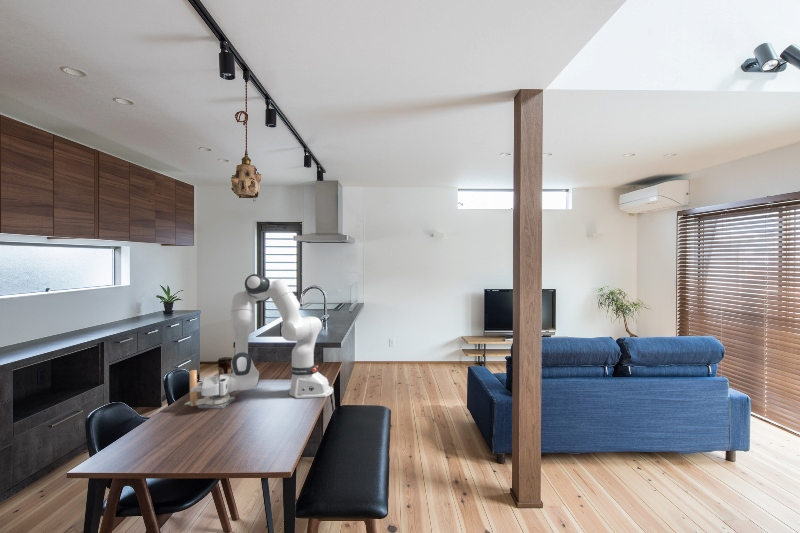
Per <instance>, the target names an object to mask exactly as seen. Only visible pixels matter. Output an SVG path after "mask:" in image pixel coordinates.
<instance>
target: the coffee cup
mask: <svg viewBox="0 0 800 533" xmlns="http://www.w3.org/2000/svg"><path fill="white" fill-rule="evenodd" d="M232 359H233V357H231V356H230V357H227V356H224V357H220V358H218V359H217V361H216V363H217V368H218V370H217V371H218V376H220V375H221V374H229V373H230V377H231V373H232V371H231V361H232Z"/></svg>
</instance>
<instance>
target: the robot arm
mask: <svg viewBox="0 0 800 533" xmlns="http://www.w3.org/2000/svg"><path fill="white" fill-rule="evenodd" d="M244 288H245V290H244V291H238V292H236V293H235V294H233V298H232V302H231V309H230V318H231V319H230V321H231V326H232V331H233V334H234V341H235V345H234V356H233V357H232V361H231V371H232V373H231V377H230V373H229V374H221V375H220V376H219V375H211V376H210V375H209V376H205V377H203V380H202V381H197V387H191V392H193V391H197V393H198V392H199V393H201V396H202V397H206V396H215V395H219V394H220V396H223V395H225V394H226V393H227V394H229V393H233V392H235V391H247V390H251V389H255V388H257V386H258V385H259V383H260V375H261V373H260V371H259V370H258V369H257V368H256V366H255V364H254V362H253V359H252V357H251V355H250V354H249V337H250V332H251V330H252V327H253V322H254V317H255V316H254V315H255V312H254V310H255V309H254V308H255V304H257V305H258V304H260V303H264V302H265V301H268V300H269V299H271V301H272V302H273V304H274V305H275V307H276V308H277V311H278V312H279V314H280V317H281V318H282V326H281V328H280V333H281V336H282V338H283V339H284V340H285V341H287V342H296V343H295V346H294V347H293V348H292V350H291V366H290V377H291V381H290V389H289V392H288V394H289V396H291V397H294V398H295V399H309V398H311V399H315V398H326V397H329V396H331V394H333V392H334V387H332V386H330V385H329V379H328V378H327V377H325V376H324V375H323V374H321V373H320V372H319V371H318V367H319V365H316V364H315V362H314V360H315V359H314V357H315V354H314V352H315V346H316V342H317V338H318V336H319V334H320V332H322V328H323V323H322V321H321V319H320V318H319V317H317V316H311V315H308V316H304V317H302V316H301V314H300V308H301V303H300V301H299V300H298V298H297V297H296V295H295V293H294V292H293V291H292V289H291V288H290V287H289V285H288V284H287V283H286V282H285V281H284V280H282V279H276V280H273V281H270V279H268V278H267V277H264V275H260V274H256V273H253V274H250V275H248V276H247V277H246V279H245V281H244Z"/></svg>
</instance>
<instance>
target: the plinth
mask: <svg viewBox="0 0 800 533" xmlns="http://www.w3.org/2000/svg"><path fill="white" fill-rule="evenodd" d="M218 398H222V396H220V394H219V395H215V396H212V399H218ZM233 400H234V401H235V400H236V397H235V396H230V400H228V401H227V402H223V403H221V404H216V405H215V404H213V405H208V404H201V405H197V408H198V409H224V408H225V407H226V405H227V406H228V405H230V404H231V403H232V402H234V401H233Z"/></svg>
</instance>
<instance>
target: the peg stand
mask: <svg viewBox="0 0 800 533" xmlns="http://www.w3.org/2000/svg"><path fill="white" fill-rule="evenodd" d="M197 383H198V370H197V369H191V370H189V401H190V405H189V406H190V407H194V406H198V405H201V404H208V405H213V404H215V405H216V404H221V403H223V402H227V401H228V400H230V397H231V396H230V394H229V393H226V394H225V395H223V396H222V398H218V399H212V396H203V397H202V398H200V399H198V392H197V391H193V392H191V387H197Z"/></svg>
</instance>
